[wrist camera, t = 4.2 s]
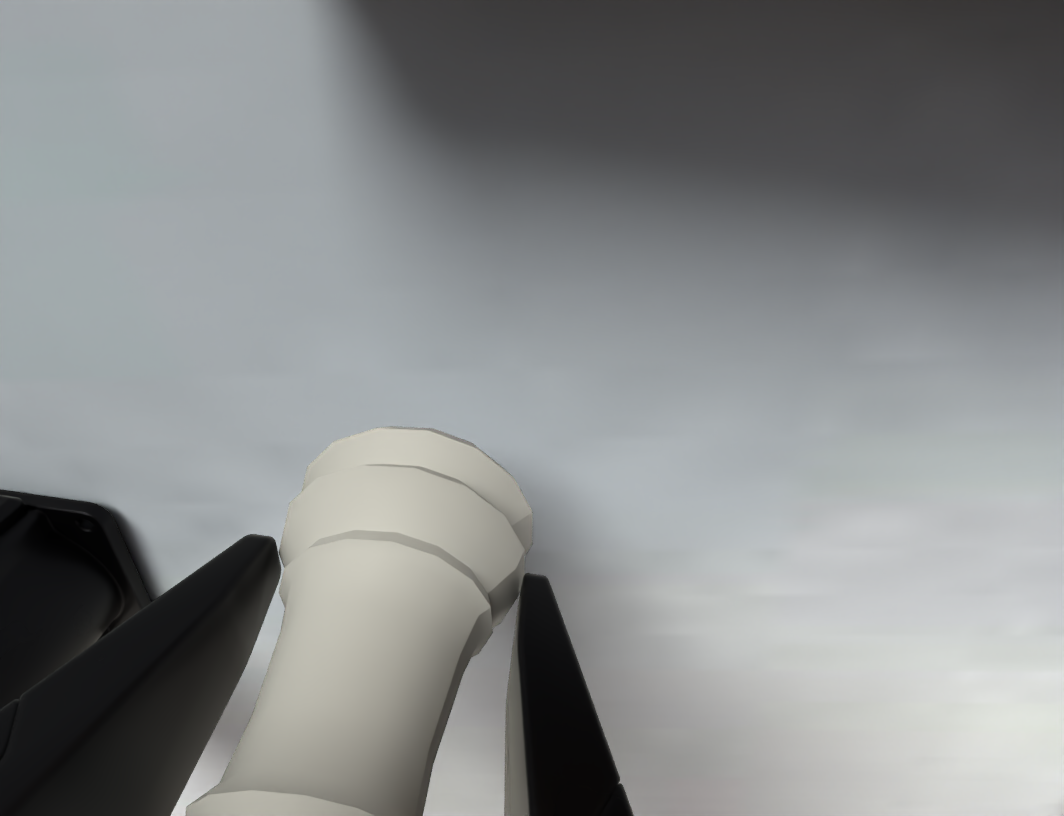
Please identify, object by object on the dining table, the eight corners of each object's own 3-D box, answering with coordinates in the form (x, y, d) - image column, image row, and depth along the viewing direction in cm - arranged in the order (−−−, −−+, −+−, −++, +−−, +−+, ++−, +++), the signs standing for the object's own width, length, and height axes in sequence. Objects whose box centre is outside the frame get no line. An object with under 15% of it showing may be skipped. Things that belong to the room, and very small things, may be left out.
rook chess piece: (510, 396, 9) (329, 1292, 3) (554, 570, 12) (518, 1264, 5) (271, 425, 10) (-324, 1180, 3) (359, 583, 12) (110, 1202, 6)
